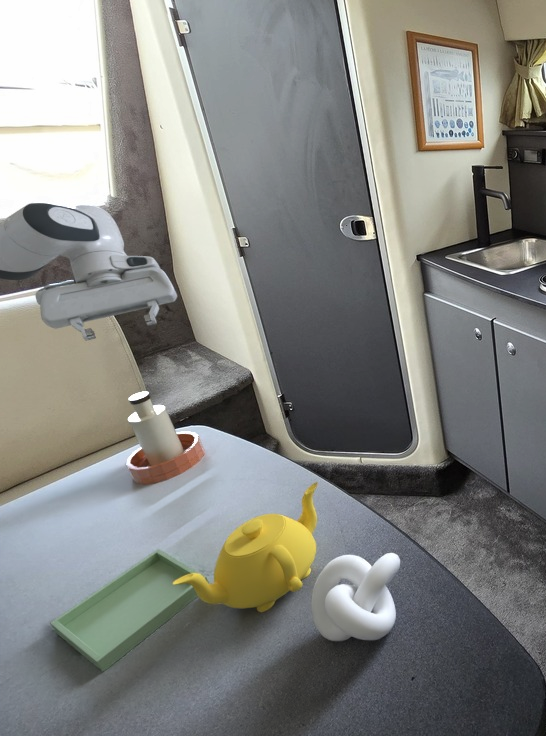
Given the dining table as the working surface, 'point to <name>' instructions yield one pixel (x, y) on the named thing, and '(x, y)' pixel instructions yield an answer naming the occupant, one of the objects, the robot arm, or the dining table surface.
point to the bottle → (154, 430)
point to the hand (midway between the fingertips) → (121, 330)
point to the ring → (169, 468)
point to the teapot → (261, 560)
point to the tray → (126, 609)
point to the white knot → (355, 598)
